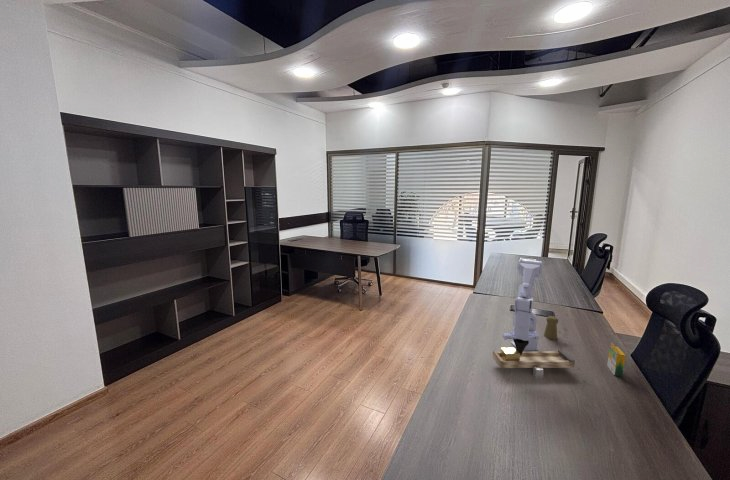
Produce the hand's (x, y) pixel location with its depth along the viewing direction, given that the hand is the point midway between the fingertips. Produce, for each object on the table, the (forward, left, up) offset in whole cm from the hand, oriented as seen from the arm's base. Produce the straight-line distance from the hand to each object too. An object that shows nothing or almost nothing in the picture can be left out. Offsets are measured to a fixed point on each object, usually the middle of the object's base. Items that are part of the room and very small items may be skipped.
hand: (519, 354), depth 126 cm
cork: (-31, -28, -7) cm, 43 cm away
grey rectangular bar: (-5, 0, -7) cm, 9 cm away
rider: (+4, 0, -2) cm, 4 cm away
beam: (-5, 0, -4) cm, 7 cm away
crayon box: (-40, +2, -7) cm, 41 cm away
